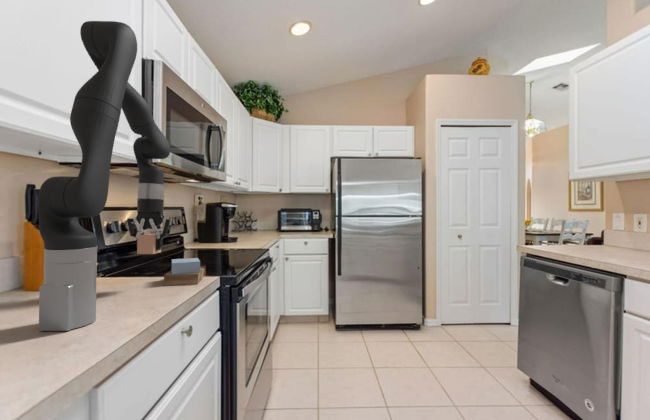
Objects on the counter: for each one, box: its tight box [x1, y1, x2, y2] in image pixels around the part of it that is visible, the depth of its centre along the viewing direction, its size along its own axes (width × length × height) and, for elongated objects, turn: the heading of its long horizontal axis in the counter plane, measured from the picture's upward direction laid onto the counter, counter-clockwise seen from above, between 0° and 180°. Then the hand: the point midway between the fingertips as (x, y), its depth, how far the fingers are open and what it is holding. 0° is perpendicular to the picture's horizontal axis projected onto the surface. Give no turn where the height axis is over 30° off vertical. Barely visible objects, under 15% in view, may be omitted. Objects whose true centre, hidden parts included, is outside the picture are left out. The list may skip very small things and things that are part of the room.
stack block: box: [136, 233, 162, 255], centre depth 100 cm, size 5×5×6 cm
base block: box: [163, 267, 205, 286], centre depth 111 cm, size 11×11×4 cm
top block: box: [171, 257, 201, 275], centre depth 112 cm, size 9×9×4 cm
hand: (149, 249), depth 100 cm, fingers closed on stack block, 5 cm apart
